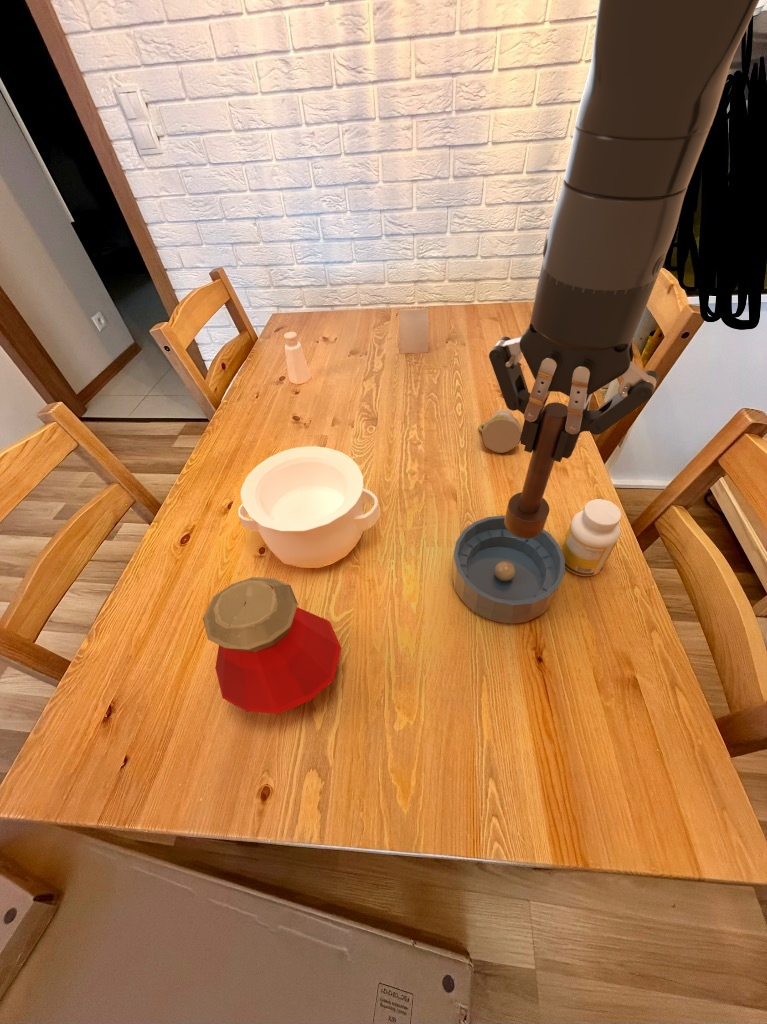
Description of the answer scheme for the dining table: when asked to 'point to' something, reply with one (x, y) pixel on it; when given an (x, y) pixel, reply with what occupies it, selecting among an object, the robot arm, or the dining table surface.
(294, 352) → the salt shaker
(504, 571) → the bead
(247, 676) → the red jar
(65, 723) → the dining table surface
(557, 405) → the masher
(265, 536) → the pot
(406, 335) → the grey rectangular block
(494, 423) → the mug
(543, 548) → the bowl
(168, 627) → the dining table surface
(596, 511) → the pill bottle
